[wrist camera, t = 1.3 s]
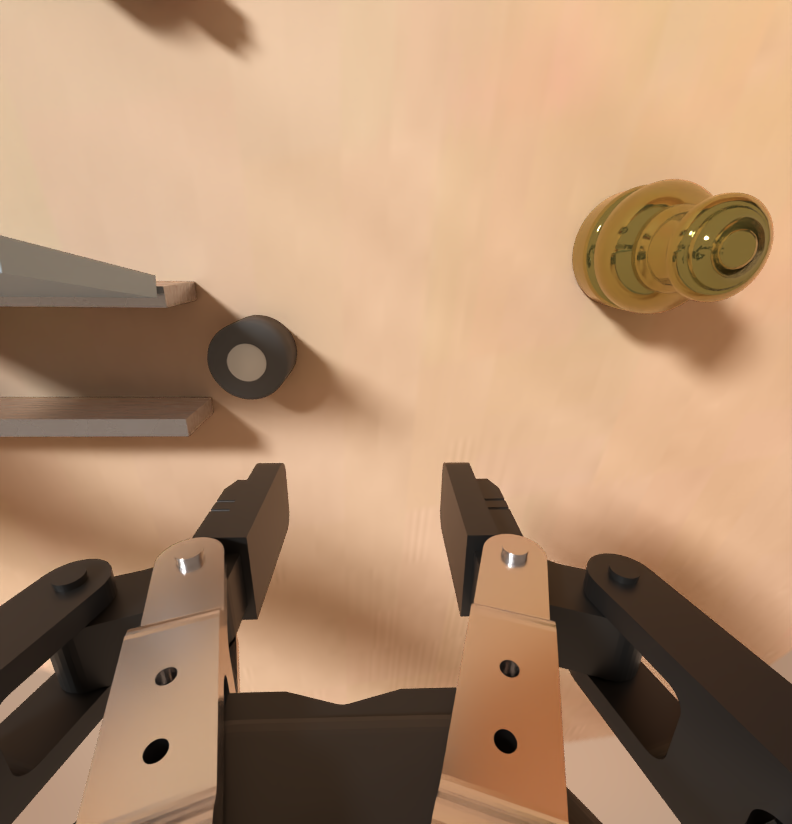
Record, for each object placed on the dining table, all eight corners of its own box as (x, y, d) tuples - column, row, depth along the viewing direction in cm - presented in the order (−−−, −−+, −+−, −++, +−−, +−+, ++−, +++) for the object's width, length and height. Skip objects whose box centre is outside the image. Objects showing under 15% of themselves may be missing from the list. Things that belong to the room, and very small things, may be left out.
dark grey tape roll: (230, 383, 31) (211, 400, 28) (221, 314, 30) (200, 323, 26) (299, 384, 32) (289, 400, 28) (294, 315, 30) (282, 323, 26)
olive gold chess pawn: (695, 200, 28) (853, 174, 19) (654, 314, 31) (775, 341, 21) (589, 179, 27) (697, 141, 18) (556, 297, 30) (635, 317, 21)
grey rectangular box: (-82, 412, 31) (-152, 437, 27) (-135, 278, 28) (-225, 282, 24) (213, 412, 32) (188, 436, 28) (194, 281, 29) (163, 286, 25)
